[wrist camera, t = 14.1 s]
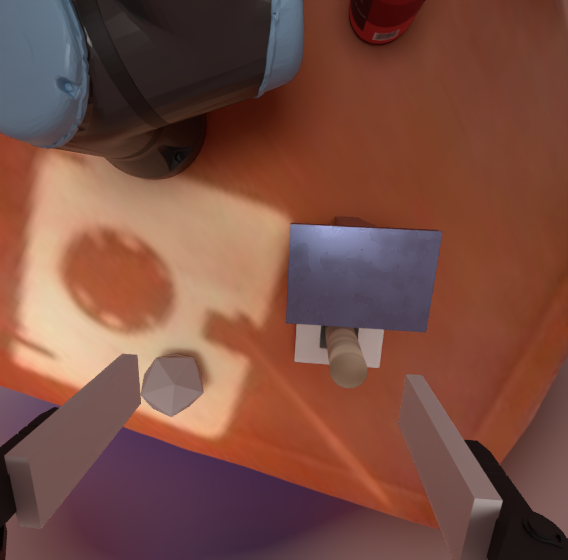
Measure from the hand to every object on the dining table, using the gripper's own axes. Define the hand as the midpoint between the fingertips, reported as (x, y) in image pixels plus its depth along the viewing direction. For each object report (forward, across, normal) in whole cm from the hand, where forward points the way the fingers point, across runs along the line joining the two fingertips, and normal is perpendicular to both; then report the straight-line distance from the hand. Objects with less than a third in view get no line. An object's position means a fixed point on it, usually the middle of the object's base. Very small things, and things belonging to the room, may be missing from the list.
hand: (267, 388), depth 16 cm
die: (+33, -17, -19) cm, 42 cm away
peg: (+32, +7, -9) cm, 34 cm away
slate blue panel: (+33, +7, +1) cm, 33 cm away
